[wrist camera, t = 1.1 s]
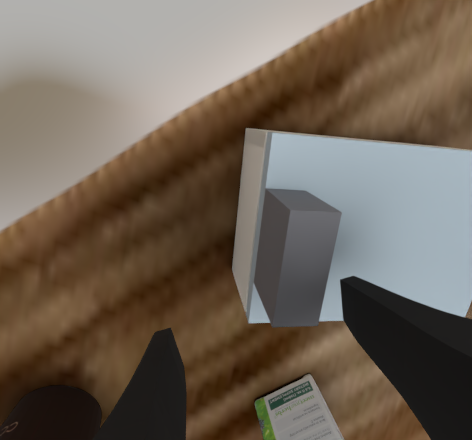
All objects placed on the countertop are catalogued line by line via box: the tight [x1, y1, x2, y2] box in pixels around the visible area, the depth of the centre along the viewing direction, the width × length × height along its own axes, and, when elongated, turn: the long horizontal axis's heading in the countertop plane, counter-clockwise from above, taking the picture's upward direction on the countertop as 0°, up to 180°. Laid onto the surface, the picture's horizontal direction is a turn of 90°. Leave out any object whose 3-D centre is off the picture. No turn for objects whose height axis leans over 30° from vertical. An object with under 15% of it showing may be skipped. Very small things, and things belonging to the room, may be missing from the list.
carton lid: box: [246, 132, 472, 327], centre depth 15 cm, size 14×10×4 cm
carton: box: [232, 128, 472, 311], centre depth 19 cm, size 14×10×5 cm
